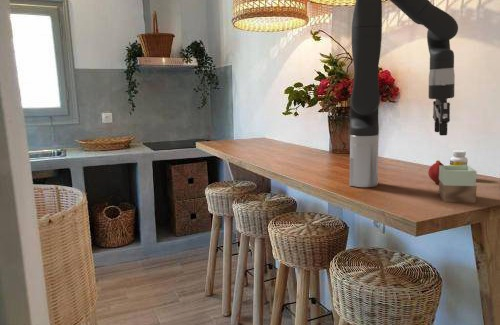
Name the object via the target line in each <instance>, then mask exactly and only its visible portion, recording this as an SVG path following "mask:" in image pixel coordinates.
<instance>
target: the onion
mask: <svg viewBox="0 0 500 325" xmlns="http://www.w3.org/2000/svg"><path fill="white" fill-rule="evenodd" d="M439 165H444V164H443V163H442V162H441V161H440V160H439V159H438V160H436V161H435V163H433V164H432V165H430V167H429V168H428V173H427V174H428V177H429V179H431V180H432V181H433V182H434V183H435V184H437V185H439V181H440V180H439Z"/></svg>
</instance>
